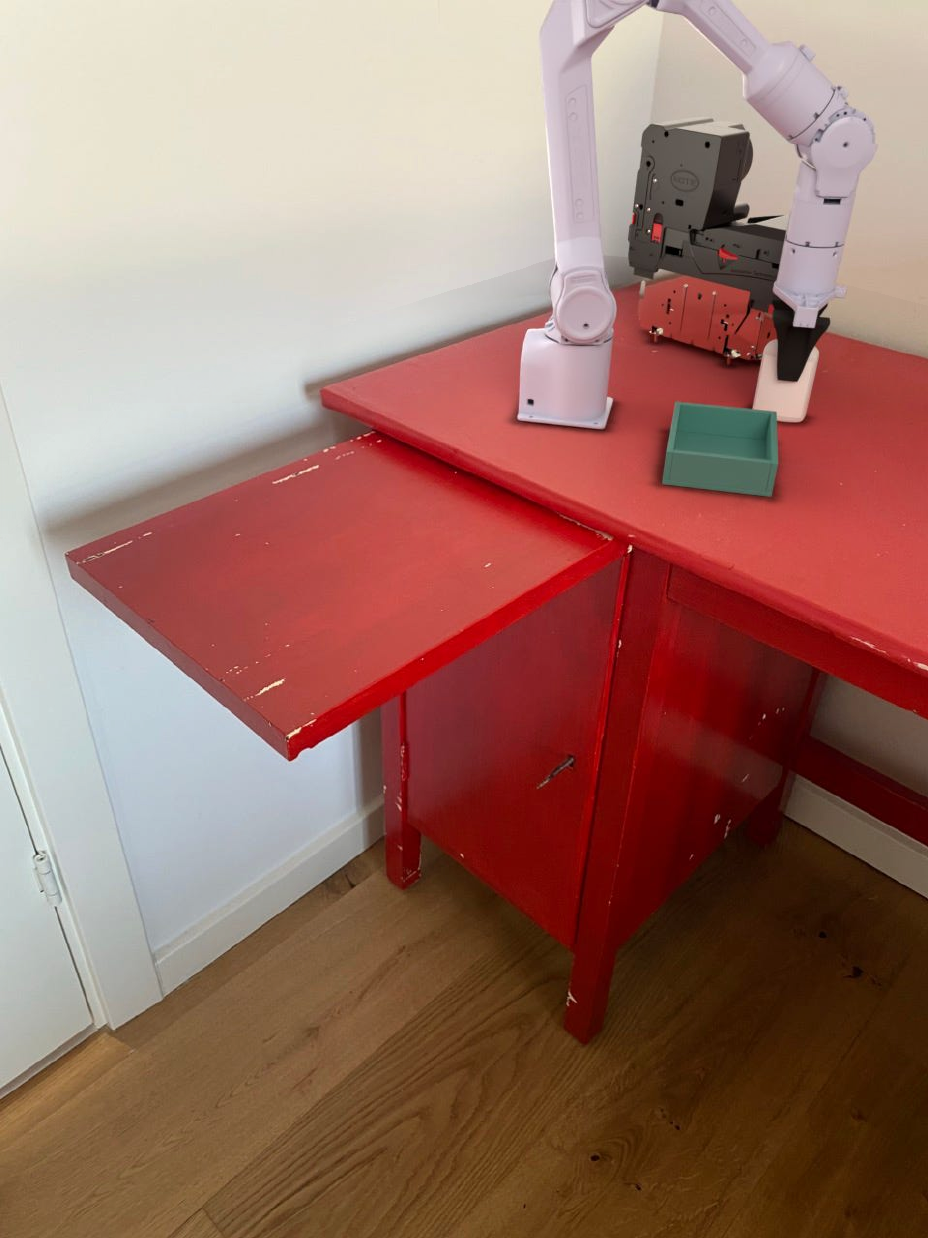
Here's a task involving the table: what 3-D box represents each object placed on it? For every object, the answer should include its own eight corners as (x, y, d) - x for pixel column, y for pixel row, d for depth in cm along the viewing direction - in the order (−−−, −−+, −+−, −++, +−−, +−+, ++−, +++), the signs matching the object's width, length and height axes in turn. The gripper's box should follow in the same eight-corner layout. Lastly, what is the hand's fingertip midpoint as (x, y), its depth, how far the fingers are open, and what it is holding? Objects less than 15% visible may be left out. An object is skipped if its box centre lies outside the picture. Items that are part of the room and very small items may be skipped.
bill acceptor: (768, 379, 115) (813, 148, 101) (615, 331, 129) (636, 121, 114) (813, 357, 121) (862, 136, 107) (663, 314, 135) (688, 112, 120)
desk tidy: (661, 484, 93) (666, 451, 91) (671, 432, 103) (675, 401, 101) (771, 497, 91) (778, 463, 89) (770, 442, 101) (776, 411, 99)
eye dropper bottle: (785, 429, 104) (808, 317, 97) (745, 411, 108) (765, 302, 101) (811, 419, 106) (836, 309, 99) (771, 402, 110) (793, 295, 103)
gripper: (863, 263, 90) (829, 402, 97) (851, 225, 101) (822, 352, 109) (783, 257, 91) (757, 395, 99) (781, 221, 102) (757, 347, 110)
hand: (787, 372), depth 104 cm, fingers closed on eye dropper bottle, 3 cm apart
